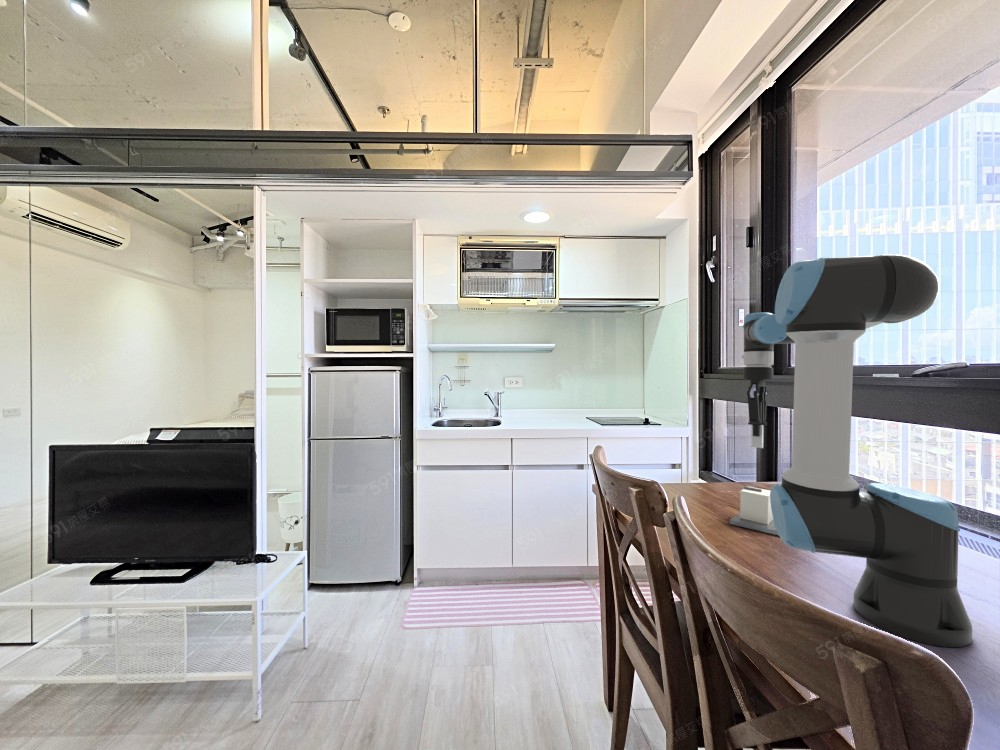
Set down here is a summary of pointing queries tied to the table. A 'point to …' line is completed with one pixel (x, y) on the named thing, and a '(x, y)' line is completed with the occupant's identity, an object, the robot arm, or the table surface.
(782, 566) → the table surface
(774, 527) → the hub plate
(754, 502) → the block
